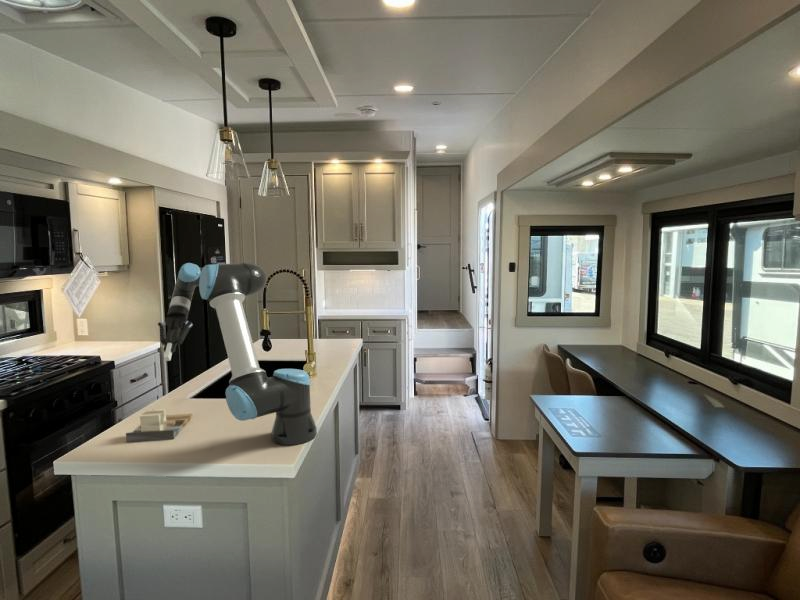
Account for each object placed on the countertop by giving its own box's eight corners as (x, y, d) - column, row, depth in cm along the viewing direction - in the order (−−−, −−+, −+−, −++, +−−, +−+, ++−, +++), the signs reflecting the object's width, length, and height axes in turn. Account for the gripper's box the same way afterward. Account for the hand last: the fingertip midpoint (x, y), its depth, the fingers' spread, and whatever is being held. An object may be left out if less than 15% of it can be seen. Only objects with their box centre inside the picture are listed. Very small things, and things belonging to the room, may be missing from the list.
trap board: (151, 419, 171) (150, 412, 170) (192, 417, 173) (192, 409, 172) (126, 442, 151) (125, 433, 150) (173, 438, 153) (172, 430, 152)
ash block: (149, 429, 158) (147, 410, 157) (167, 427, 159) (165, 408, 158) (141, 436, 152) (139, 416, 151) (160, 434, 153) (158, 415, 152)
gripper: (198, 314, 187) (188, 363, 172) (165, 316, 185) (152, 365, 171) (193, 303, 181) (182, 352, 167) (159, 304, 180) (145, 354, 165)
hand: (167, 359), depth 169 cm, fingers closed
